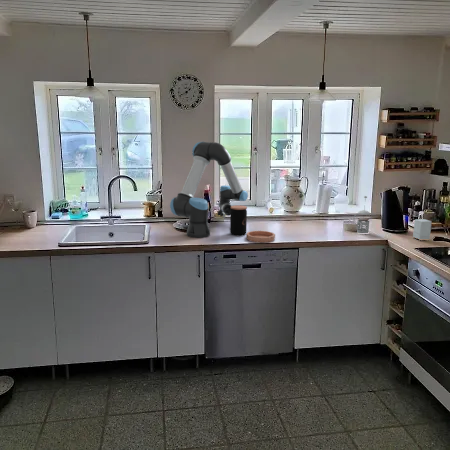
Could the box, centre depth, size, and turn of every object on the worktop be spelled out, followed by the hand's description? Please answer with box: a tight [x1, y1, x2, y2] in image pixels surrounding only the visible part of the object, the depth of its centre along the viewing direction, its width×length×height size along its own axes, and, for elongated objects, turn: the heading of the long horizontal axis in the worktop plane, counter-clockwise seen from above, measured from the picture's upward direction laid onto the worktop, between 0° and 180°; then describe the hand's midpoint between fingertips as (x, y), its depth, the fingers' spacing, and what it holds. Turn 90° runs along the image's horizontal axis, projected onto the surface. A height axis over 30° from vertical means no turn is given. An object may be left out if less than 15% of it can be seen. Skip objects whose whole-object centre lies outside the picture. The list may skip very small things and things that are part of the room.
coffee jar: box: [229, 205, 248, 237], centre depth 281 cm, size 11×11×18 cm
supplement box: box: [412, 218, 433, 240], centre depth 275 cm, size 7×7×13 cm
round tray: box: [245, 230, 276, 243], centre depth 272 cm, size 17×17×3 cm
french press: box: [352, 195, 371, 233], centre depth 290 cm, size 10×12×25 cm
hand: (234, 215), depth 291 cm, fingers open, 13 cm apart
